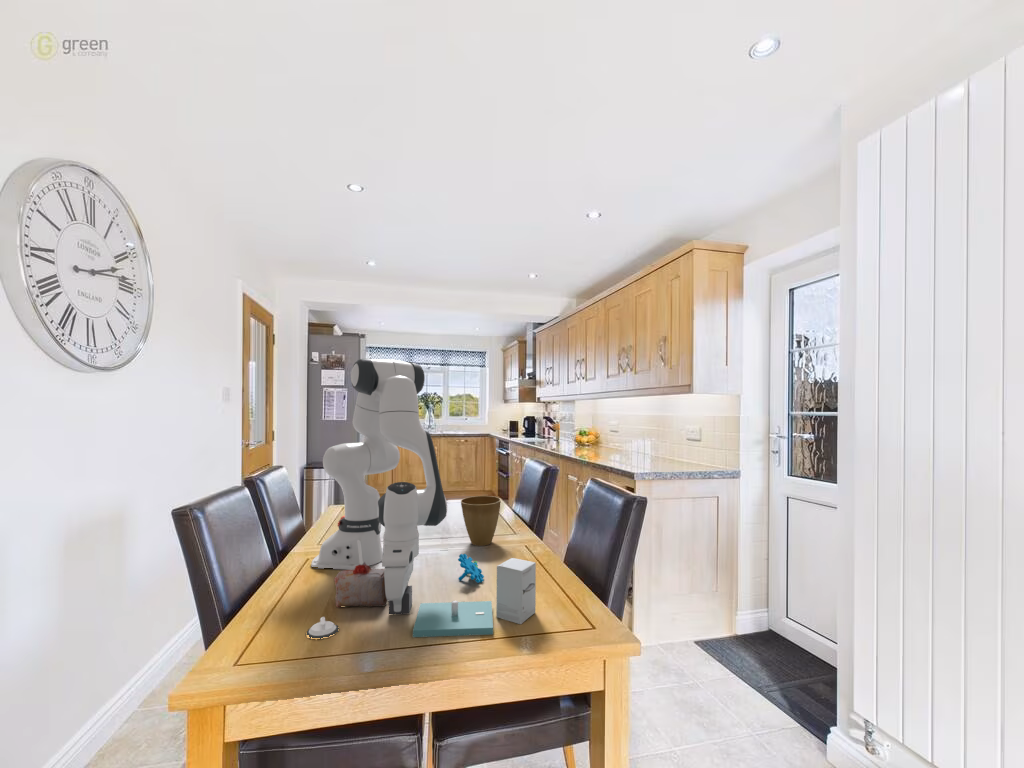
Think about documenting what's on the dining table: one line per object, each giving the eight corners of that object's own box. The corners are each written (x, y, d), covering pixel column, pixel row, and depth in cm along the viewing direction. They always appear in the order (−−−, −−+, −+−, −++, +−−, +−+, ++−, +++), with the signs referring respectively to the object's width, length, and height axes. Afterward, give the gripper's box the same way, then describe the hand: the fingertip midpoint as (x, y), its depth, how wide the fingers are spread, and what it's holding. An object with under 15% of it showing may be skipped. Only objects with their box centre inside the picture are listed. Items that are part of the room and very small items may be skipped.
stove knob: (304, 644, 102) (305, 631, 102) (305, 629, 108) (305, 616, 109) (340, 637, 105) (340, 624, 105) (338, 623, 111) (338, 611, 111)
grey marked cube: (388, 614, 115) (388, 593, 115) (392, 605, 120) (392, 585, 120) (409, 614, 115) (409, 593, 116) (412, 605, 120) (412, 585, 121)
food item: (330, 610, 118) (330, 571, 118) (339, 597, 126) (340, 560, 126) (385, 608, 118) (385, 569, 119) (391, 595, 126) (391, 559, 127)
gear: (480, 583, 130) (457, 555, 133) (465, 598, 131) (442, 569, 133) (490, 574, 141) (468, 548, 144) (476, 588, 141) (455, 562, 144)
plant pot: (478, 534, 183) (478, 494, 183) (508, 541, 174) (508, 498, 175) (452, 544, 171) (452, 500, 171) (483, 552, 162) (483, 506, 163)
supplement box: (521, 625, 110) (521, 571, 110) (495, 617, 114) (495, 565, 114) (536, 613, 116) (536, 561, 116) (511, 606, 120) (511, 556, 120)
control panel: (412, 637, 104) (412, 616, 104) (420, 609, 118) (420, 591, 118) (493, 634, 105) (493, 614, 106) (491, 606, 119) (491, 589, 119)
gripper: (395, 536, 128) (395, 587, 128) (380, 562, 108) (379, 622, 108) (418, 535, 129) (418, 586, 128) (407, 561, 108) (407, 621, 108)
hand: (400, 603), depth 118 cm, fingers open, 7 cm apart
